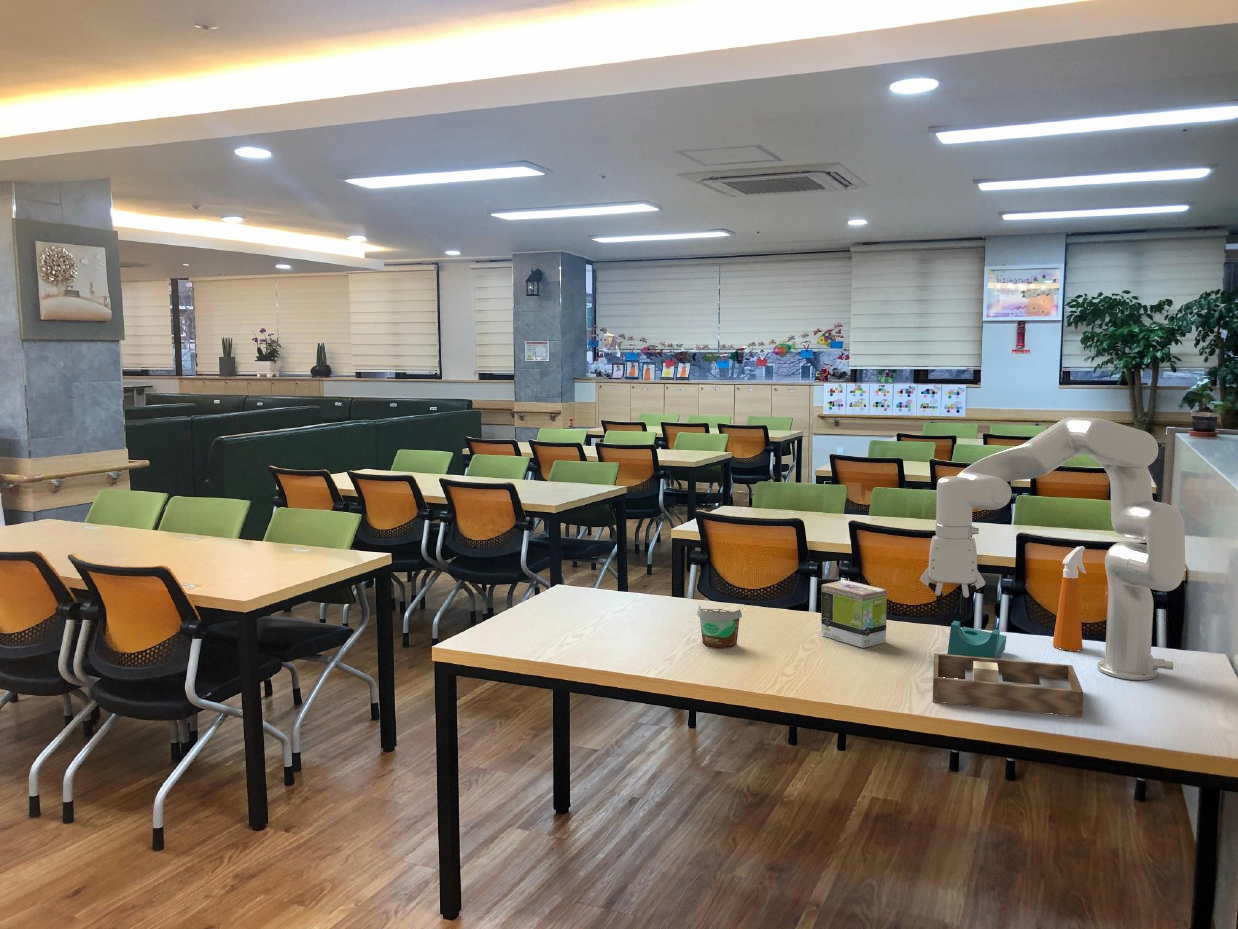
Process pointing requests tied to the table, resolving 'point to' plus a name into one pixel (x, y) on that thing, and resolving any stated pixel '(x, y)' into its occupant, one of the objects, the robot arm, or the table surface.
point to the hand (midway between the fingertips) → (951, 611)
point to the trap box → (1009, 685)
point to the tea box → (854, 613)
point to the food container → (719, 627)
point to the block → (985, 671)
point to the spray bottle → (1070, 604)
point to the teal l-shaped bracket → (975, 642)
